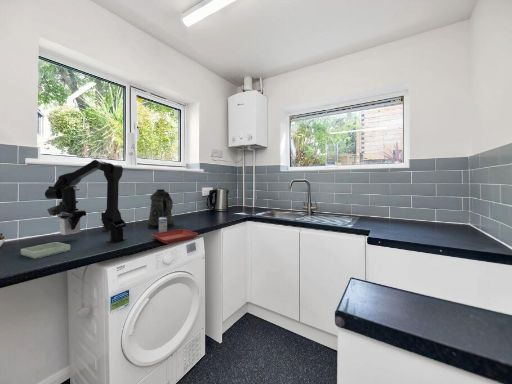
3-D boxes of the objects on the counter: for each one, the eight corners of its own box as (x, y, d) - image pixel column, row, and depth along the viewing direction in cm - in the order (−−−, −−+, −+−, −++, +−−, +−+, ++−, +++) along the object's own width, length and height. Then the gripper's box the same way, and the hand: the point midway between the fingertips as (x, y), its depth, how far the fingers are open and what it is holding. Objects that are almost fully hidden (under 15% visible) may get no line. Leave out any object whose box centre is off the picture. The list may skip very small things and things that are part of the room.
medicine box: (158, 231, 137) (158, 217, 136) (166, 230, 138) (166, 216, 138) (158, 234, 129) (158, 219, 129) (167, 233, 131) (166, 219, 131)
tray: (70, 250, 100) (70, 244, 100) (35, 259, 89) (34, 252, 89) (55, 247, 105) (55, 241, 105) (20, 254, 94) (20, 249, 94)
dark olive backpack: (156, 223, 161) (155, 188, 160) (182, 224, 158) (181, 189, 157) (141, 228, 145) (140, 189, 143) (170, 229, 142) (169, 190, 141)
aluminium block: (80, 232, 120) (79, 217, 119) (65, 234, 113) (64, 219, 113) (75, 231, 122) (75, 216, 121) (60, 234, 115) (59, 218, 115)
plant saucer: (150, 239, 120) (150, 233, 120) (182, 233, 132) (182, 228, 132) (164, 246, 107) (164, 239, 107) (198, 239, 119) (198, 233, 119)
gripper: (39, 200, 113) (41, 230, 114) (60, 201, 105) (61, 234, 106) (65, 198, 123) (67, 226, 124) (86, 199, 115) (87, 229, 116)
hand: (70, 229), depth 117 cm, fingers closed on aluminium block, 4 cm apart
